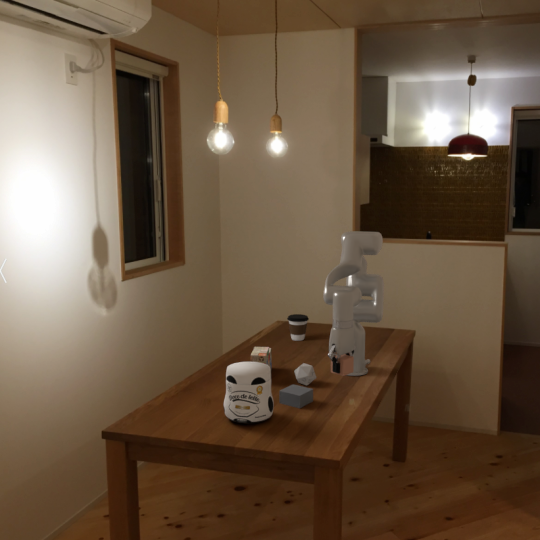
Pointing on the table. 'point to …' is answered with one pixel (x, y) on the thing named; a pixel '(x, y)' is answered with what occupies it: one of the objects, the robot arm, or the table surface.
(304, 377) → the die
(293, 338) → the coffee cup
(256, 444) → the table surface
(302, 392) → the charcoal block
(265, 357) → the stack of blocks
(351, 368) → the terracotta cube
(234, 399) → the milk container
